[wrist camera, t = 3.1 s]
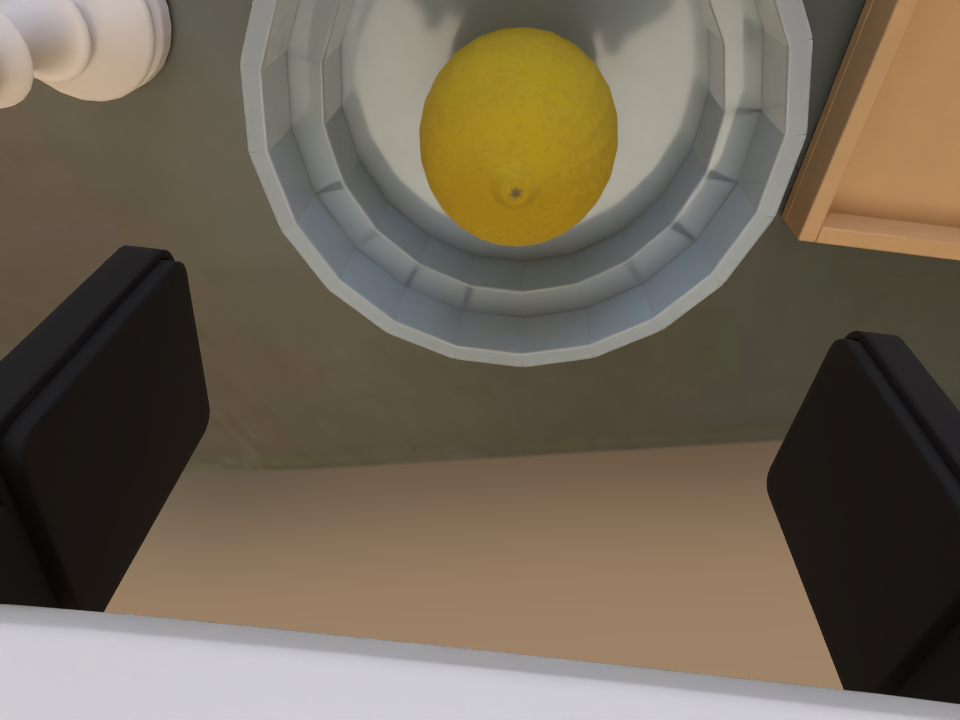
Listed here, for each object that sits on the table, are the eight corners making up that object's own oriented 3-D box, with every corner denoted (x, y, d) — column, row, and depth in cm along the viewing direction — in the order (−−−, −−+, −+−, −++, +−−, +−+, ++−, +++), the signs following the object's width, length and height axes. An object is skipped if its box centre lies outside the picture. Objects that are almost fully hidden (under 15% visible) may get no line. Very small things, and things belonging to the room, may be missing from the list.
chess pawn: (179, 103, 24) (23, 210, 17) (32, 71, 23) (-193, 166, 16) (168, -62, 21) (-27, -21, 14) (0, -102, 21) (-292, -80, 13)
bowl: (840, -162, 18) (925, -168, 14) (683, 312, 27) (708, 390, 23) (278, -234, 18) (206, -260, 14) (306, 266, 27) (266, 337, 23)
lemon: (487, 204, 25) (471, 325, 18) (405, 61, 22) (351, 144, 16) (632, 132, 23) (669, 239, 17) (561, -34, 20) (573, 16, 14)
